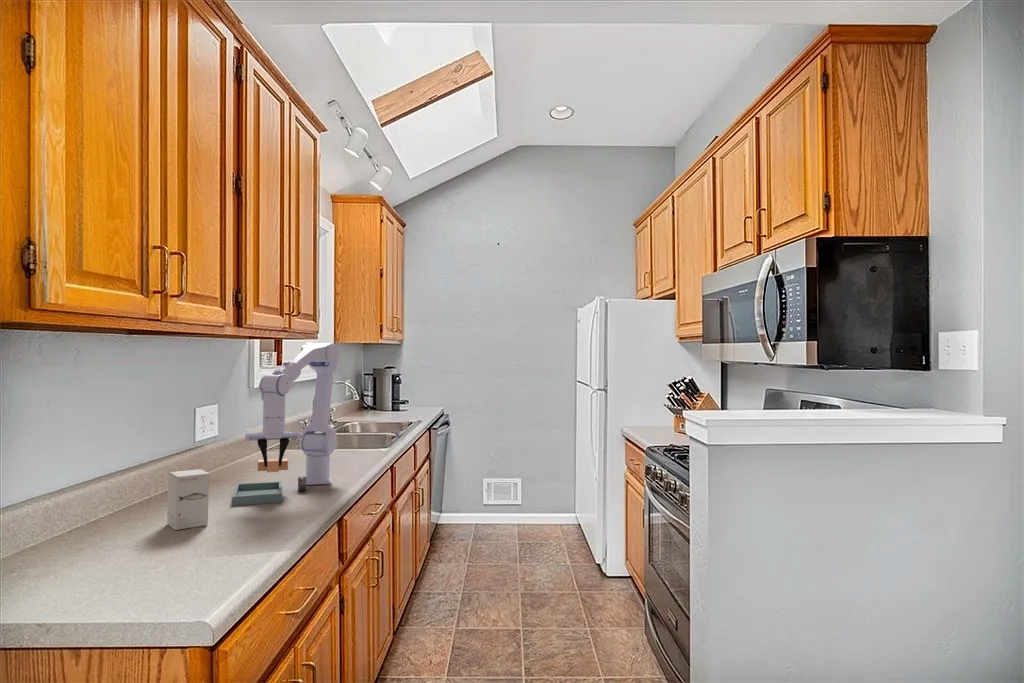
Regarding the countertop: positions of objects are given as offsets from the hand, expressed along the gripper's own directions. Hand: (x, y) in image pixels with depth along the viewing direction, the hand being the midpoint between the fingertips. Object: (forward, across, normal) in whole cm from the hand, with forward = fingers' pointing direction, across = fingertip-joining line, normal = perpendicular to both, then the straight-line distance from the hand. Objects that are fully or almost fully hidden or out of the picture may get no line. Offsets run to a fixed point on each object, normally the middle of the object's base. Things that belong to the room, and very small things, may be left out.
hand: (272, 465), depth 178 cm
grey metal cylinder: (+10, +8, +9) cm, 15 cm away
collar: (+2, 0, +4) cm, 4 cm away
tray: (+10, -4, +5) cm, 11 cm away
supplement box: (+10, -19, -20) cm, 29 cm away
